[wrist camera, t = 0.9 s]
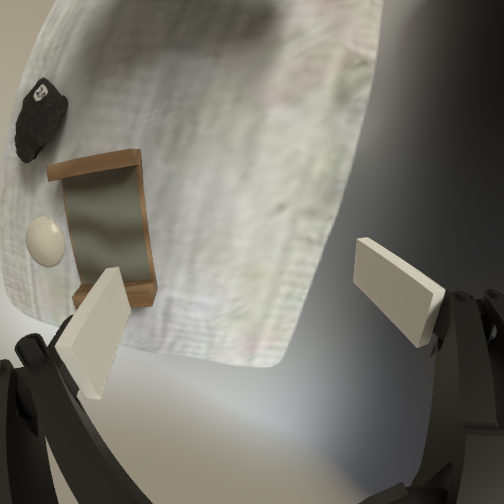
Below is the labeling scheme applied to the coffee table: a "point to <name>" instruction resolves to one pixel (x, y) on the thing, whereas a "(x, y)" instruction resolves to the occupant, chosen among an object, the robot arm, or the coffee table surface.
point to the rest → (108, 222)
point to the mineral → (38, 119)
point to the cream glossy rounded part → (45, 241)
